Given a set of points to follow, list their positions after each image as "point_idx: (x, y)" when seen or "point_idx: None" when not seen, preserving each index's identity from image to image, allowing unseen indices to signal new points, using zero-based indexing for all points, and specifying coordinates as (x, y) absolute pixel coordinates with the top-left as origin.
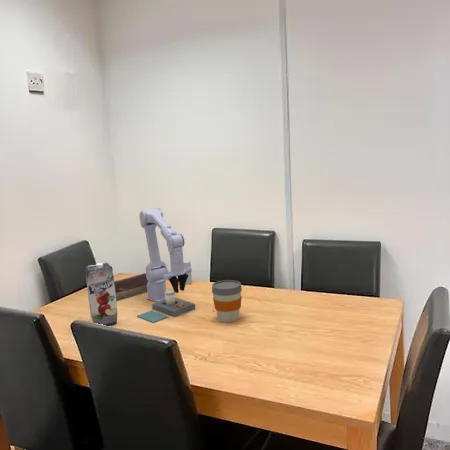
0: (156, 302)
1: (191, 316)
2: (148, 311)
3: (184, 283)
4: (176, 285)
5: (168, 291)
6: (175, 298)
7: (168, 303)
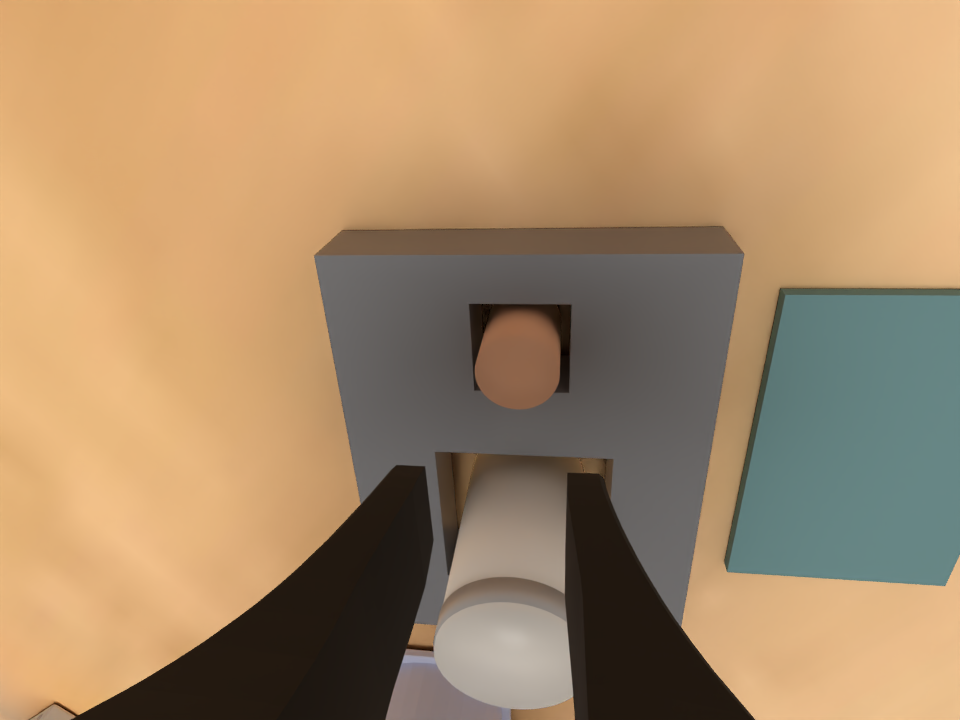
0: None
1: (562, 30)
2: (772, 574)
3: (333, 578)
4: (664, 621)
5: (522, 672)
6: None
7: None
